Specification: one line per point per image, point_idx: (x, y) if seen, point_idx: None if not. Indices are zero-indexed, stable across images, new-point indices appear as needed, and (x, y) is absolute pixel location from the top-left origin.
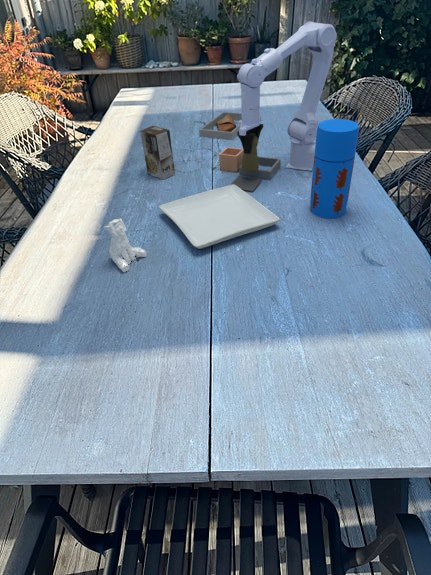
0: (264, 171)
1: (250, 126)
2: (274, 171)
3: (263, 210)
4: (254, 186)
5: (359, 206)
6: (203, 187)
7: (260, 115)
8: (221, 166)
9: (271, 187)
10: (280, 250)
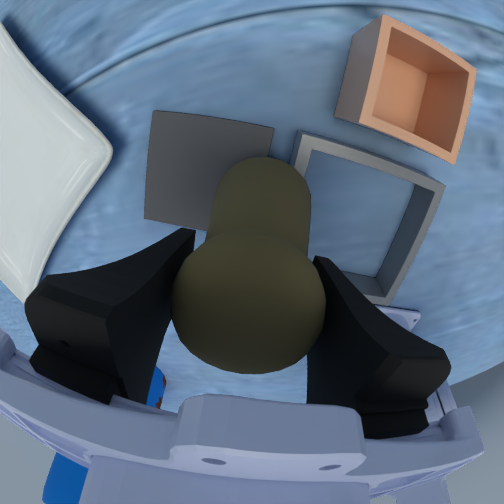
0: None
1: (71, 459)
2: None
3: (35, 274)
4: (178, 218)
5: (166, 404)
6: (156, 11)
7: (442, 475)
8: (357, 39)
9: None
10: (2, 293)
